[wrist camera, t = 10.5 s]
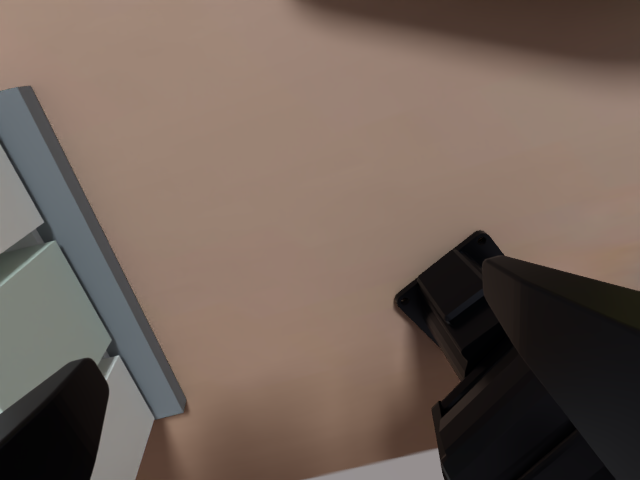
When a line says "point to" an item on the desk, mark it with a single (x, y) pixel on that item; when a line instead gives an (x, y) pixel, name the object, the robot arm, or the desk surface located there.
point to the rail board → (84, 279)
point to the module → (42, 320)
